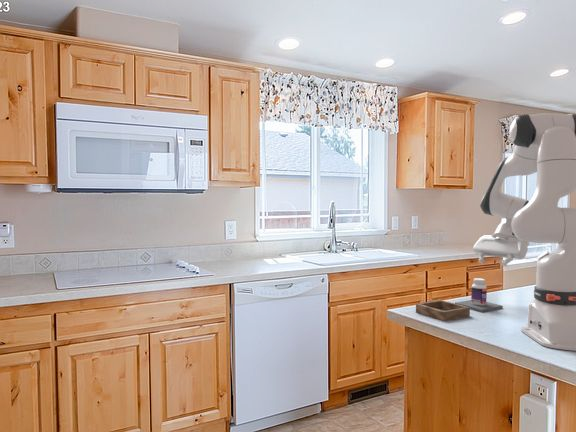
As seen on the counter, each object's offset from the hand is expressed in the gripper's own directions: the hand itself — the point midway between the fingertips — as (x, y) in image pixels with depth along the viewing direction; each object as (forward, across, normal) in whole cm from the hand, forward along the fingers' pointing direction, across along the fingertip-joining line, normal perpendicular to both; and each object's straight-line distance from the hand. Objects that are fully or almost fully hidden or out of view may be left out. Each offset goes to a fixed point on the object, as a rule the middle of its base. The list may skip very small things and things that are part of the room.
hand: (491, 263), depth 171 cm
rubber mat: (+17, 0, +6) cm, 18 cm away
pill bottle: (+16, 0, +5) cm, 17 cm away
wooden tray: (+31, -2, -9) cm, 33 cm away
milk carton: (-18, +1, +42) cm, 46 cm away
